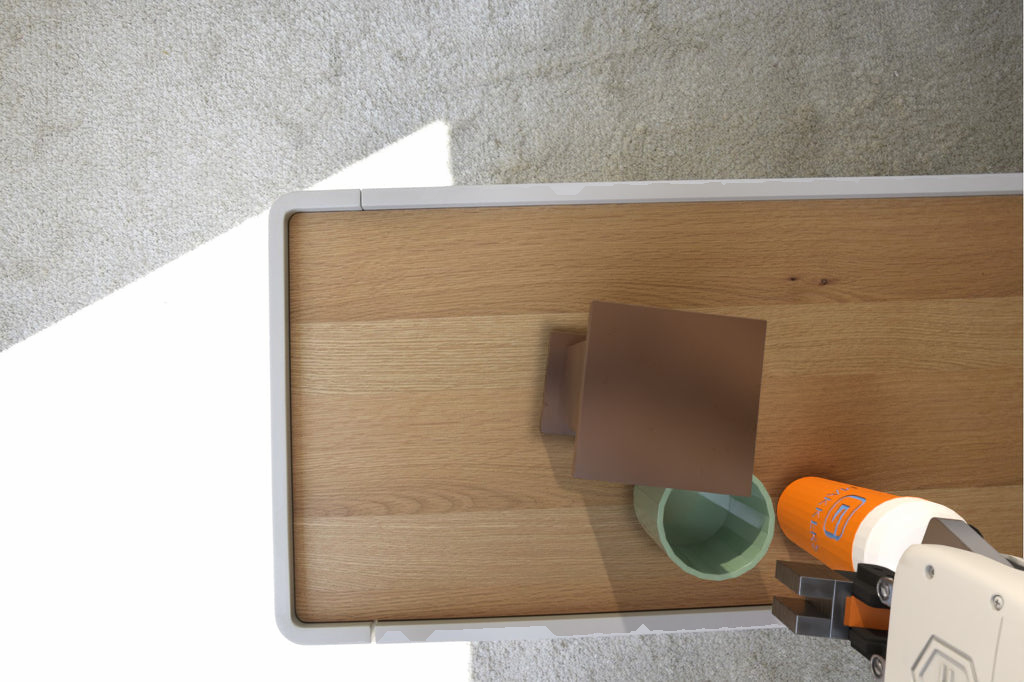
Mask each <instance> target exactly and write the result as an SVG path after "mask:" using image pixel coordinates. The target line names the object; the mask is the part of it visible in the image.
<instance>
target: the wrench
mask: <svg viewBox="0 0 1024 682" xmlns="http://www.w3.org/2000/svg"><path fill="white" fill-rule="evenodd" d="M774 578H775V579H776V580H778V581H779V582H780V583H782V584H783V585H784V586H785V587H787V588H788V589H790V590H791V591H792V592H794V593H795V594H796V595H798V596H800V597H804V598H797V597H788V596H781V595H780V596H779V595H773V596H772V604H771V615H772V616H774V617H775V618H776V619H777V620H778V621H779V622H780V623H782V624H783V625H784V626H785V627H786V628H787V629H789V631H790V632H792V633H793V634H794V635H796V636H804V637H814V638H820V639H821V638H822V639H830V640H831V639H832V640H841V641H849V640H848V637H849V627H852V626H853V627H862V628H871V629H881V630H889V620H890V609H881V608H873V607H870V606H868V605H866V604H864V603H863V602H861V601H860V600H858V599H857V598H855V597H854V595H852V594H853V593H852V592H853V582H852V581H850V580H849V579H847V578H845V577H844V576H842V575H840V574H839V573H837V572H835V571H834V570H833V569H831V568H830V567H828V566H827V565H825V564H818V563H810V562H809V563H808V562H800V561H791V560H783V559H782V560H781V559H776V560H775V571H774Z"/></svg>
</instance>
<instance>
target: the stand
mask: <svg viewBox="0 0 1024 682" xmlns="http://www.w3.org/2000/svg"><path fill="white" fill-rule="evenodd" d="M767 326H768V320H767V319H759V318H753V317H752V318H750V317H744V316H743V317H742V316H734V315H727V314H726V315H725V314H719V313H718V314H716V313H707V312H700V311H692V310H691V311H690V310H682V309H673V308H665V307H657V306H648V305H639V304H631V303H622V302H612V301H604V300H598V299H597V300H596V299H593V300H591V301H589V309H588V318H587V329H586V333H577V332H568V331H560V330H559V331H558V330H551V331H550V332H549V339H548V347H547V357H546V367H545V375H544V385H543V393H542V401H541V402H542V403H541V410H540V411H541V412H540V421H539V428H538V431H539V432H540V433H542V434H543V433H544V434H551V435H553V434H554V435H561V436H568V437H569V436H571V437H575V440H574V449H573V458H572V467H571V476H572V478H574V479H581V480H591V481H599V482H608V483H616V484H617V483H618V484H627V485H633V486H635V485H643V486H652V487H661V488H670V489H680V490H689V491H698V492H707V493H716V494H725V495H734V496H743V497H751V488H752V477H753V475H754V466H755V455H756V454H755V453H756V445H757V433H758V424H759V423H758V422H759V412H760V402H761V391H762V382H763V381H762V380H763V372H764V371H763V369H764V359H765V349H766V337H767V328H768V327H767Z"/></svg>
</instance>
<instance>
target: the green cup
mask: <svg viewBox="0 0 1024 682" xmlns="http://www.w3.org/2000/svg"><path fill="white" fill-rule="evenodd" d="M632 502H633V509H634V513H635V516H636V518H637V520H638V522H639V524H640V526H641V527H642V528H643V530H644V532H645V534H647V535H648V537H650V539H651V540H652V541H653V542H654V543H655V544H656V545H657V546H658V547H659V548H660V549H661V550H662V551H663V553H665V554H666V555H667V557H668V558H669V559H670V560H672V562H673V563H675V565H677V566H678V567H679V568H680V569H681V570H682V571H683V572H685V573H686V574H689V575H692V576H693V577H696V578H699V579H702V580H709V581H718V582H719V581H721V582H722V581H725V580H729V579H735V578H739V577H741V576H742V575H743V574H745V573H747V572H749V571H750V570H752V569H754V568H755V567H756V566H757V565H758V564H759V562H760V561H761V560H762V559H763V558H764V557H765V556H766V554H767V552H768V551H769V548H770V545H771V544H772V541H773V538H774V534H775V524H776V514H775V509H774V505H773V501H772V497H771V496H770V494H769V492H768V490H767V488H766V487H765V485H764V484H763V482H762V481H761V480H760V479H759V478H757V477H756V476H755V474H753V477H752V488H751V497H743V496H734V495H725V494H716V493H707V492H698V491H689V490H680V489H670V488H661V487H652V486H643V485H633V491H632Z"/></svg>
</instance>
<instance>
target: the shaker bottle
mask: <svg viewBox="0 0 1024 682" xmlns="http://www.w3.org/2000/svg"><path fill="white" fill-rule="evenodd" d="M776 517H777V521H778V524H779V527H780V529H781V530H782V532H783V535H785V536H786V537H787V539H789V541H791V542H792V543H794V544H795V545H797V546H798V547H799V548H801V549H802V550H803V551H805V552H807V553H808V554H810V555H811V556H812V557H814V558H815V559H817V560H818V561H820V562H821V563H823V565H825V566H827V567H829V568H830V569H832V570H844V571H853V572H857V564H858V563H866V564H874V565H879V566H883V567H886V568H888V569H890V570H892V571H894V572H896V568H897V565H898V563H899V560H900V558H901V556H902V554H903V553H904V551H905V550H906V549H907V548H908V547H909V546H911V545H913V544H921V543H922V540H923V537H924V534H925V532H926V529H927V526H928V523H929V521H930V519H931V518H933V517H939V518H948V519H957V520H962V521H964V522H965V523H967V521H966V520H965V519H964V518H963V517H962V516H961V515H959V514H958V513H957V512H956V511H955V510H953V509H951V508H949V507H948V506H945V505H944V504H940V503H937V502H933V501H931V500H929V499H925V498H922V497H919V496H910V495H909V496H907V495H905V496H901V495H896V494H891V493H887V492H883V491H878V490H874V489H871V488H865V487H861V486H857V485H853V484H850V483H845V482H844V483H843V482H840V481H836V480H831V479H827V478H823V477H818V476H804V477H801V478H798V479H796V480H794V481H792V482H791V483H790V484H788V485H787V486H786V487H785V488H784V490H783V491H782V492H781V495H780V496H779V498H778V502H777V505H776ZM967 524H968V525H969V526H970V527H971V528H972V529H973V530H974V531H975V532H976V533H978V534H979V535H980V536H981V537H982V538H983V539H984V540H985V538H984V535H983V534H982V532H981V531H980V529H979V528H977V527H975V526H974V525H972V524H971V523H967Z"/></svg>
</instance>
